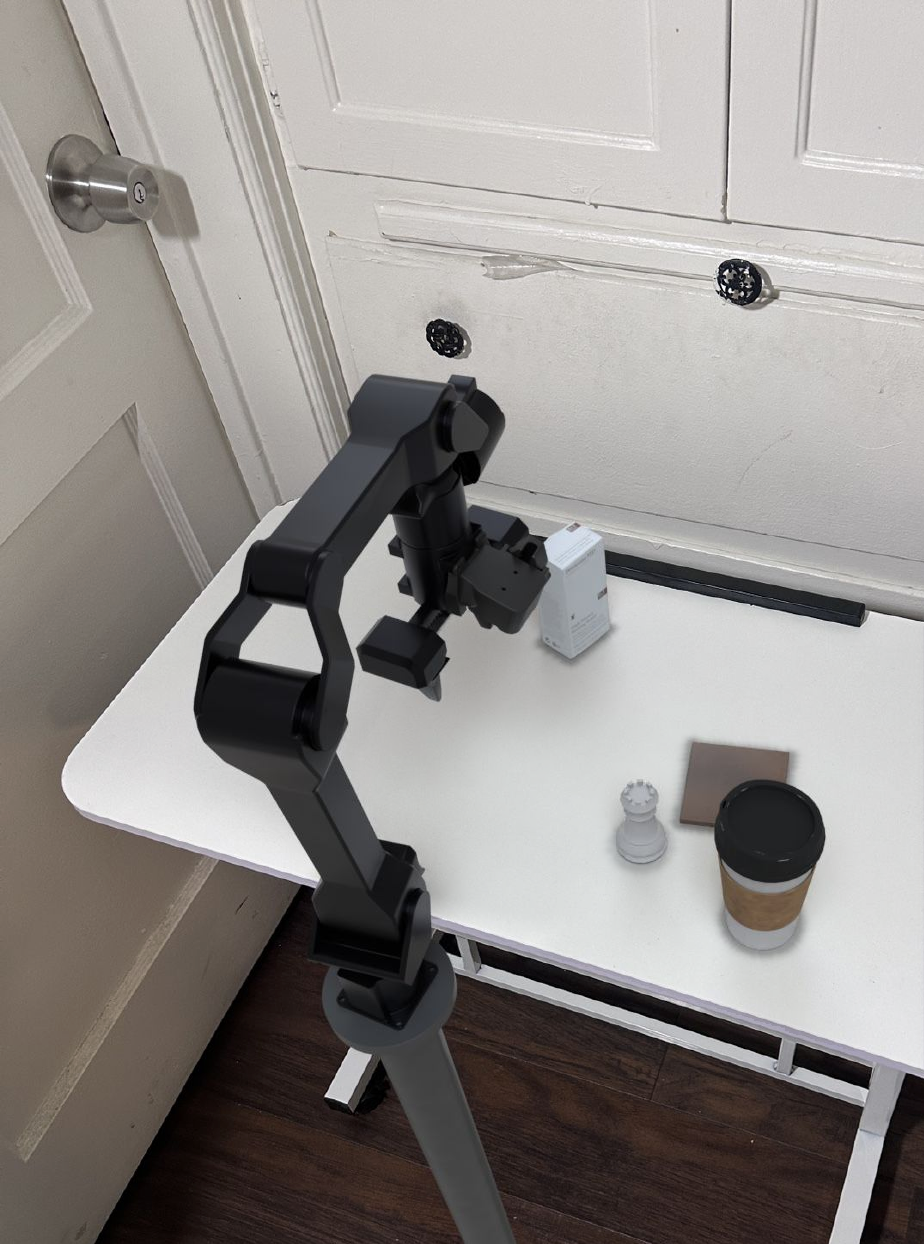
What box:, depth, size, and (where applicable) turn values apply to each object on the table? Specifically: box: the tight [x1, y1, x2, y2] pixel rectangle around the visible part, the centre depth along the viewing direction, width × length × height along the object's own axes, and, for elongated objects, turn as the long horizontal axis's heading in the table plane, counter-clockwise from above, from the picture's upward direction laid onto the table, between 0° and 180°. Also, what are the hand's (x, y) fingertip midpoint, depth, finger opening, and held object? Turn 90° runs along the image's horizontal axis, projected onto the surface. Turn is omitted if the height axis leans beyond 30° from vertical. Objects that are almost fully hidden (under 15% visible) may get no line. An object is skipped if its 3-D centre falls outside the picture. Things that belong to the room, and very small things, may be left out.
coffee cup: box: [713, 779, 827, 951], centre depth 97 cm, size 8×8×15 cm
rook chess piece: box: [616, 778, 668, 864], centre depth 105 cm, size 4×4×8 cm
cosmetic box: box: [537, 520, 611, 660], centre depth 120 cm, size 6×4×12 cm
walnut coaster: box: [679, 741, 790, 828], centre depth 112 cm, size 9×9×1 cm
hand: (461, 662), depth 107 cm, fingers open, 9 cm apart
